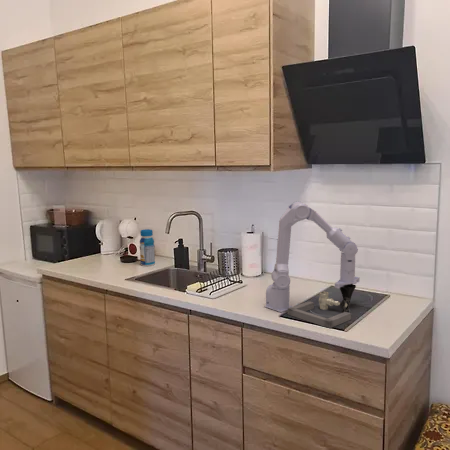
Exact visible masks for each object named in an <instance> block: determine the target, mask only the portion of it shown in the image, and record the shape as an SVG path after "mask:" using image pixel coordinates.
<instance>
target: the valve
mask: <svg viewBox="0 0 450 450" xmlns="http://www.w3.org/2000/svg"><path fill="white" fill-rule="evenodd" d="M344 299H345V300H343V299H342V300H341V301H338V300H334V298H329V292H328V291H320V292H319V297H318V303H319V309H320V310H324V311H326V310H329V306H330V307H332V306H339V307H340V309H341V313H343V312H348V311H350V306H351V300H350V298H347V297H344ZM349 300H350V302H349ZM346 302H347V303H346Z"/></svg>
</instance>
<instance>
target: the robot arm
mask: <svg viewBox="0 0 450 450" xmlns="http://www.w3.org/2000/svg"><path fill="white" fill-rule="evenodd" d="M304 220H308V221H312V222H314V223H315V224H316V225H317V226H318V227H320V229H322V230H323V231H324V232H325V233H326V238H327V239H328V240H329V241H330V242H331V243H332V244H333V245H334V246H335V247H336V248H338V250H339V251H340V266H339V267H340V271H339V272H340V274H339V276H340V277H339V280H337V281H336V282H334V288H335V289H339V291H340V293H341V295H342V296H341V297H342V300H345V299H344V297H347V298H350V300H349V302H350V303H351V299H352V296H353V293H354V292H355V289H356V288H357V285H356V284H357V283H360V277H359V276H355V275H356V255H357V254H358V250H359V248H358V245H357V244H356V243H355V242H354V241H352V240H351V237H350V236H348V235H346V234H345V233H344V232H343V229H341V228H340V227H337V226H335V227H333V226H332V225H330V224H329V223H328V221H326V220H325V219H324V217H322V216H321V215H320V214H319V213H318V212H317V211H315V210H314V209H313V208H311V207H310V206H308V205H307V204H306V203H304V202H301V201H294V202H293V203H291V204H289V205H288V206H287V208H286V210H285V211H284V213H283V214H282V216H281V217H280V218H279V221H278V222H279V223H278V231H277V232H278V233H277V246H276V256H275V257H276V258H275V259H276V262H275V264H274V267H273V268H274V269H273V270H272V272H271V280H272V281H273V283H272V284H269V285H268V286H267V288H266V291H265V305H264V307H265V308H266V309H270V310H272V311H277V312H278V313H283V312H286V311H287V312H288V308H290V307H293V306H292V305H290V296H291V295H290V293H291V292H290V290H291V288H290V287H291V277H290V276H289V274H290V272H289V271H290V270H289V269H290V268H289V260H290V259H289V258H290V247H291V235H292V233H291V232H292V227H293V226H294V225H295V224H297V223H298V222H300V221H304ZM346 303H347V302H346Z"/></svg>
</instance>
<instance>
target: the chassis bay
mask: <svg viewBox="0 0 450 450" xmlns="http://www.w3.org/2000/svg"><path fill="white" fill-rule="evenodd" d="M314 307H315V303H314V302H313V301H309V300H308V301H306V302H302V303H300V304H296V305H294V306H293V307H290V308H288V310H287V315H288V316H291V317H294V318H297V319H300V320H303V321H305V322H306V321H307V322H309V323H313V324H316V325H318V326H322V327H324V328H328V329H333V328H334V327H336V326H339V325H341V324H344V323H347V322H349V321H350V320H351V319H352V313H350V312H348V311H347V312H343V313H342V312H340V313H338V314H336V315H334V316H330V317H324V316H321V315H318V314H315V313H311V312H308V311H312V310H314V309H315V308H314Z"/></svg>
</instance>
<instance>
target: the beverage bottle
mask: <svg viewBox="0 0 450 450" xmlns="http://www.w3.org/2000/svg"><path fill="white" fill-rule="evenodd" d="M153 231H154V230H152V229H149V228H145V229H141V230H140V239H139V258H140V266H143V267H151V266H154V265H155V264H156V261H155V260H156V259H155V256H156V255H155V240H154V238H153Z"/></svg>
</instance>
